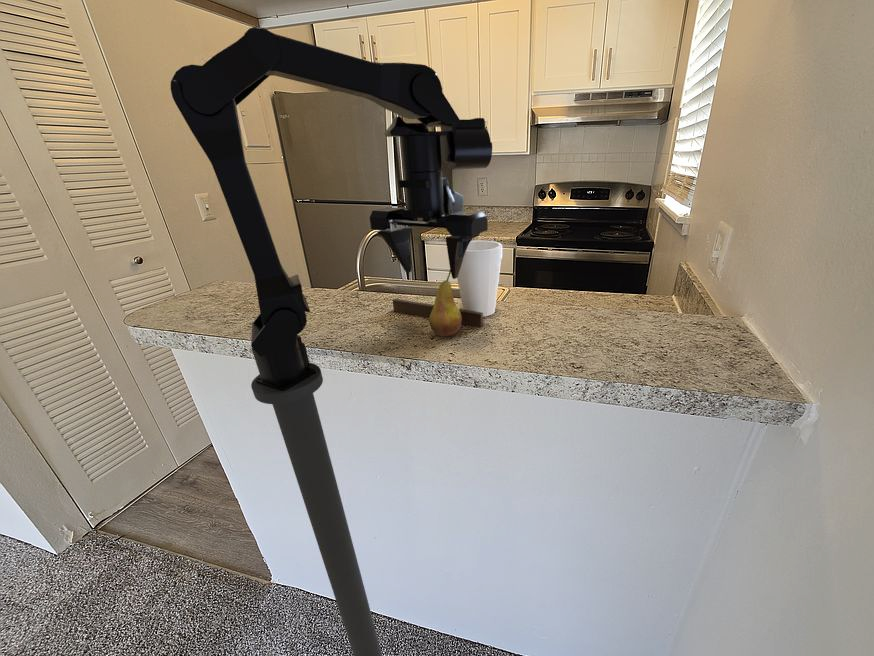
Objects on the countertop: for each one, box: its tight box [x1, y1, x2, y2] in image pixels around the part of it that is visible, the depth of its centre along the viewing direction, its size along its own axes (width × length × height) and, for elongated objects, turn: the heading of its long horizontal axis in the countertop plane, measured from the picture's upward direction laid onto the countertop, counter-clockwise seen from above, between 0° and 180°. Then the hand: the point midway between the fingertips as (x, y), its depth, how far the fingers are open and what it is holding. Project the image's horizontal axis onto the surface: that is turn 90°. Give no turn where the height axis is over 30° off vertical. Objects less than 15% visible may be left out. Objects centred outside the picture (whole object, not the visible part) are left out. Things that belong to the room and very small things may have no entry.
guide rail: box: [392, 298, 484, 328], centre depth 78 cm, size 1×20×2 cm, turn 63°
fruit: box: [428, 270, 462, 337], centre depth 69 cm, size 6×6×12 cm
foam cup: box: [456, 239, 503, 318], centre depth 78 cm, size 10×9×13 cm
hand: (431, 275), depth 67 cm, fingers open, 9 cm apart
